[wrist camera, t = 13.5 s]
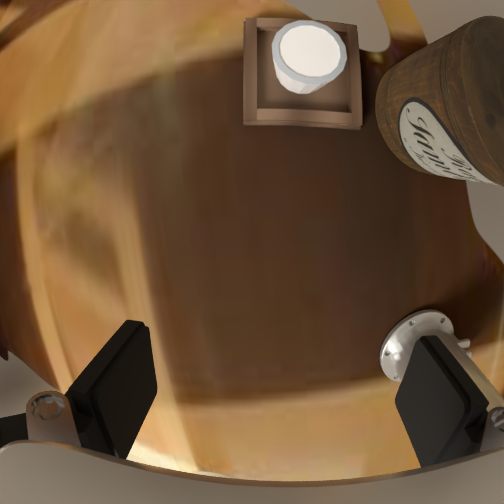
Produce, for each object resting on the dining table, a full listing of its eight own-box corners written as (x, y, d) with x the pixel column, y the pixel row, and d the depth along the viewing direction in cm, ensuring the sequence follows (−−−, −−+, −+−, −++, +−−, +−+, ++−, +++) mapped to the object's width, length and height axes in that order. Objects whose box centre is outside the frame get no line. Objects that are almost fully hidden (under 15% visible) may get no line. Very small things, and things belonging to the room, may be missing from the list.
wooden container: (361, 150, 32) (486, 146, 11) (384, 43, 28) (486, -39, 7) (457, 190, 33) (587, 229, 12) (475, 92, 29) (595, 73, 7)
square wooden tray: (353, 31, 28) (358, 23, 25) (358, 130, 32) (365, 128, 29) (244, 24, 28) (242, 15, 26) (244, 125, 32) (242, 122, 30)
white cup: (273, 40, 28) (276, 14, 21) (334, 51, 28) (349, 28, 21) (266, 94, 30) (266, 77, 23) (328, 104, 30) (344, 91, 23)
